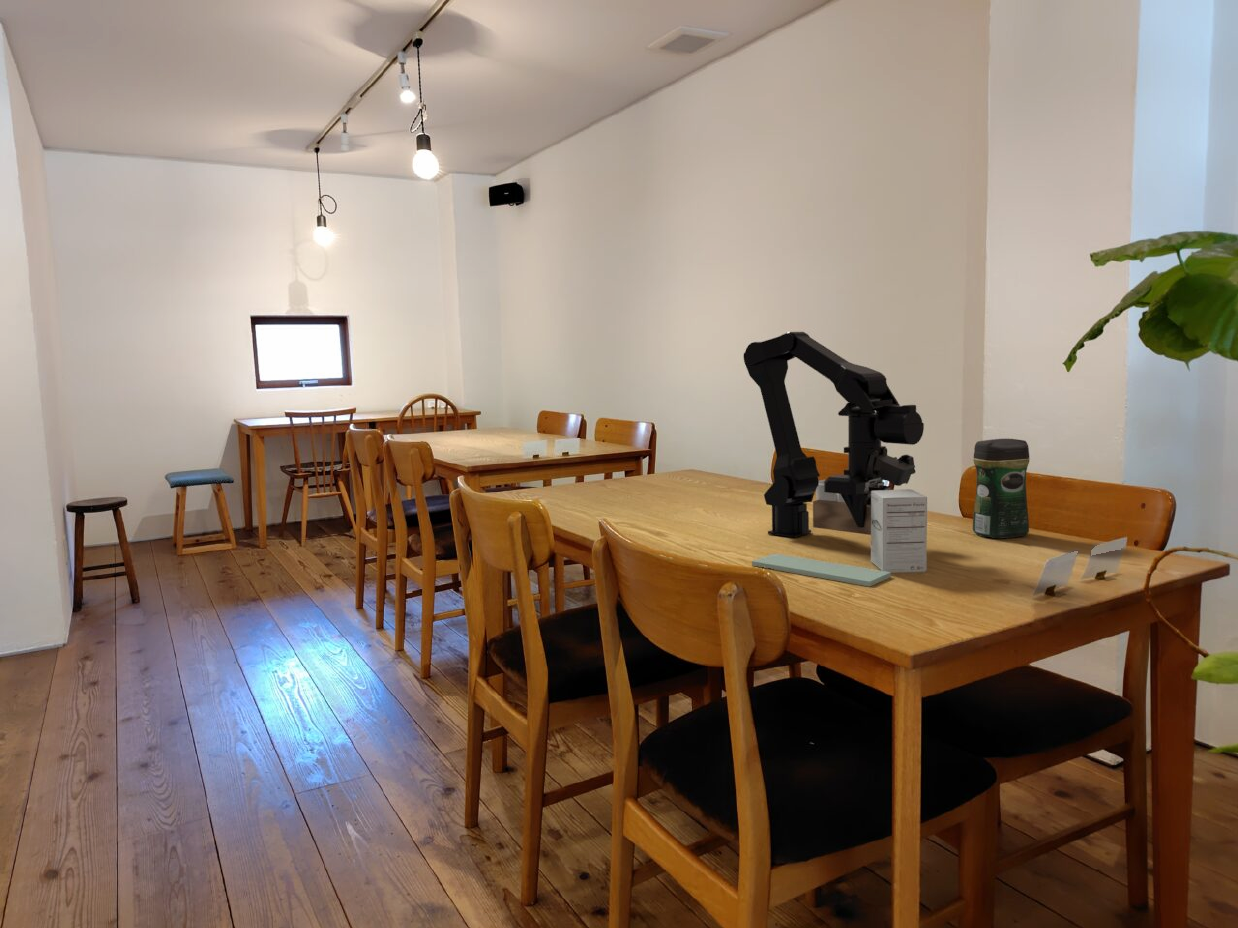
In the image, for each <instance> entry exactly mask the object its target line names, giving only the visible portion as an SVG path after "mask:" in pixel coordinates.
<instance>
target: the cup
mask: <svg viewBox="0 0 1238 928" xmlns="http://www.w3.org/2000/svg"><path fill="white" fill-rule="evenodd" d="M825 480H826V479H821V480H819V485H818V487H817V489H816V491H815V494H816V495H815V496H816V500H829V501H838V502H845V501H844V499H843V498H842V496H841V494H838V493H827V492H824V481H825Z"/></svg>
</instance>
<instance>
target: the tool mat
mask: <svg viewBox="0 0 1238 928" xmlns="http://www.w3.org/2000/svg"><path fill="white" fill-rule="evenodd" d="M752 565H753V566H752ZM751 566H752V567H757V566H758V567H757V568H762V567H763V566H765V567H764V569H768V568H771V569H770V570H773V569H774V570H775V571H780V572H785V573H791V574H797V575H802V576H803V575H804V576H807V577H808V576H809V577H814V578H818V579H824V580H831V581H835V582H841V583H847V584H852V585H853V584H854V585H859V586H864V587H868V588H869V587H872V586H874V585H876V584H878V583H880V582H883V581H885V580H887V579H890V578H891V577H892V573H891V572H886V571H881V570H880V569H871V568H867V567H860V566H855V565H854V566H853V565H848V564H842V563H835V562H830V561H824V560H823V561H822V560H818V559H817V560H816V559H811V558H807V557H806V558H805V557H799V556H794V555H787V554H780V553H772V554H769V555H767V556H766V555H765V556H763V557H760V558H757V559H754V560H751Z"/></svg>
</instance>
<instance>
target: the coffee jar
mask: <svg viewBox="0 0 1238 928" xmlns="http://www.w3.org/2000/svg"><path fill="white" fill-rule="evenodd" d="M973 450H974V452H973V460H972V461H973V465H974V466H975V470H976V490H975V501H974V508H973V517H972V531H973V532H974V533H975V534H976V535H977V536H979V537H983V538H985V537H988V538H993V539H1008V538H1017V537H1023V536H1026V535H1028V534H1029V532H1030V521H1029V509H1028V500H1027V499H1028V497H1027V471H1028V470H1027V469H1028V466H1029V464H1030V459H1031V458H1030V448H1029V444H1028V442H1027V441H1026V440H1023V439H1017V438H1016V439H1015V438H995V439H986V440H979V441H976V443H975V444H974V449H973Z"/></svg>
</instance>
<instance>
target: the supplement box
mask: <svg viewBox="0 0 1238 928" xmlns="http://www.w3.org/2000/svg"><path fill="white" fill-rule="evenodd" d="M927 533H928V496H926V495H924V494H921V493H919V492H917V491H915V490H914V489H889V490H877V491H871V535H870V563H872V564H874V565H875V566H876V567H877V568H879V569H878V570H880V571H886V572H891V574H893V573H895V574H898V573H924V572H927V565H928V564H927V561H928V560H927V555H928V554H927V551H928V550H927V549H928V548H927V546H928V545H927V544H928V543H927V542H928V540H927V538H928V537H927V536H928V534H927Z"/></svg>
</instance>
